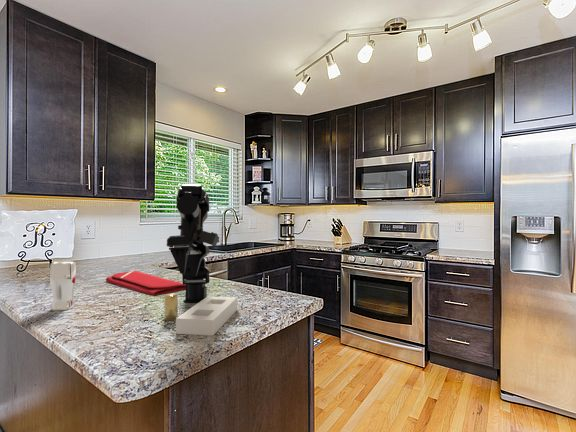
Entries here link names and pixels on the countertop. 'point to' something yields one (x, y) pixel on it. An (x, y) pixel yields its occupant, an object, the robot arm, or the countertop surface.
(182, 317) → the block
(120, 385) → the countertop surface
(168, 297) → the cylinder
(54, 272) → the white carton
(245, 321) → the countertop surface
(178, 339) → the countertop surface
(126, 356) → the countertop surface
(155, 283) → the dish drying mat
